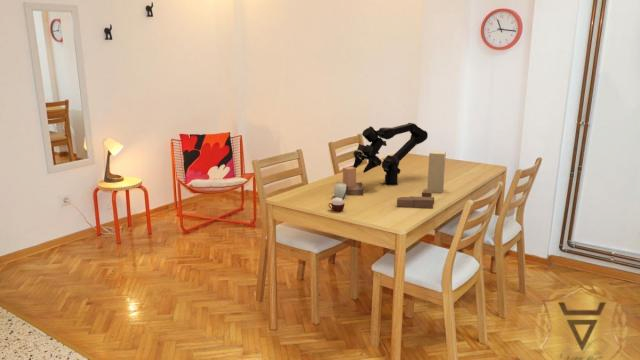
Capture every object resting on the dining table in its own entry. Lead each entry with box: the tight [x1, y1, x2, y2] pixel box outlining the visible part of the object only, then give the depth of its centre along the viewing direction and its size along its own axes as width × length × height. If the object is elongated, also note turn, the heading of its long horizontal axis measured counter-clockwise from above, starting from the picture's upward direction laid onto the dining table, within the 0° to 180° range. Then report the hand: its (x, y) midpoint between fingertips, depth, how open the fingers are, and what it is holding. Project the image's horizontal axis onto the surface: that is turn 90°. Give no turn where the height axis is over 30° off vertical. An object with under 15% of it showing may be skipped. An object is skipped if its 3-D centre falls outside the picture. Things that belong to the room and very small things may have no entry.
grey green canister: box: [333, 182, 347, 200], centre depth 269 cm, size 6×6×7 cm
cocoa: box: [328, 186, 349, 213], centre depth 248 cm, size 10×6×12 cm, turn 59°
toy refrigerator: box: [426, 150, 447, 194], centre depth 277 cm, size 8×7×21 cm
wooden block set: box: [396, 189, 435, 209], centre depth 259 cm, size 17×6×18 cm
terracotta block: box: [342, 166, 357, 188], centre depth 278 cm, size 5×5×10 cm
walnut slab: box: [346, 182, 364, 196], centre depth 280 cm, size 14×14×3 cm
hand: (358, 170), depth 280 cm, fingers open, 9 cm apart
